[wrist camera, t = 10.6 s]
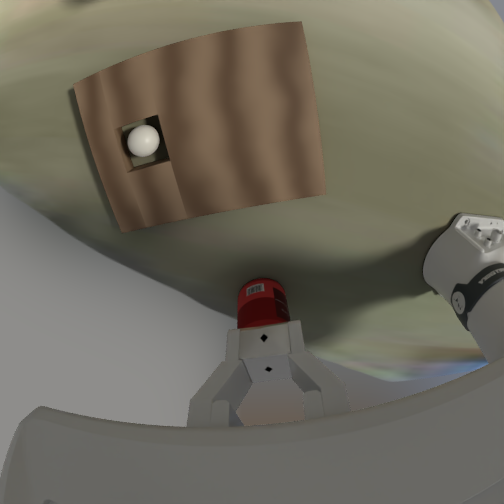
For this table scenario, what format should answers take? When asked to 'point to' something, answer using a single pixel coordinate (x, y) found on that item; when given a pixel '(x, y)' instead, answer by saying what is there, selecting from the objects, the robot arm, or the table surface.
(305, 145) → the board
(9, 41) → the table surface
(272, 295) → the canned food
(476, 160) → the table surface
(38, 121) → the table surface
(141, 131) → the ball
